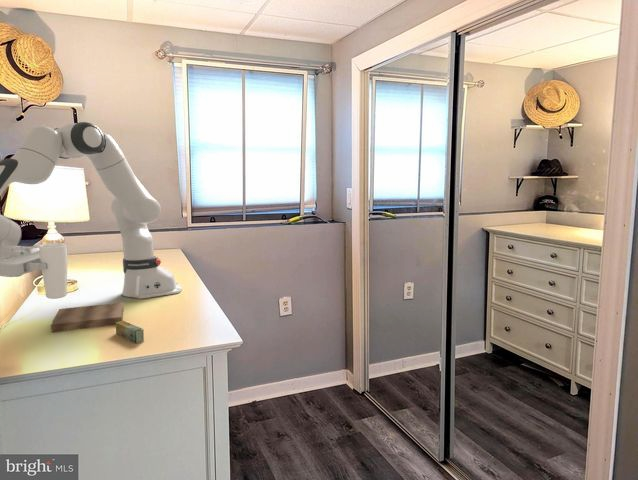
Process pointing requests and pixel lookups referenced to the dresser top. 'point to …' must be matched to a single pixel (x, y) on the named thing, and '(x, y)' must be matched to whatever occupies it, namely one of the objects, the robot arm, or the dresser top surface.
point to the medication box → (130, 332)
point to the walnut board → (87, 317)
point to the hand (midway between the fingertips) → (56, 263)
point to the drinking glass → (54, 269)
